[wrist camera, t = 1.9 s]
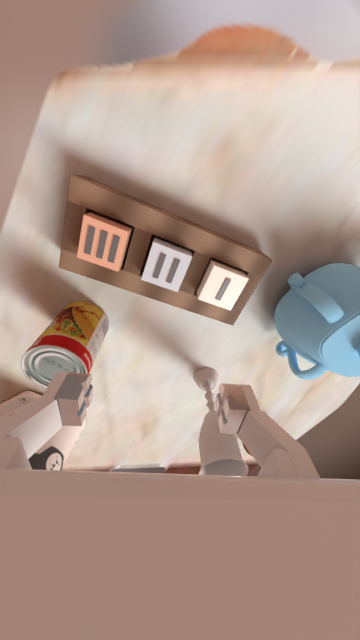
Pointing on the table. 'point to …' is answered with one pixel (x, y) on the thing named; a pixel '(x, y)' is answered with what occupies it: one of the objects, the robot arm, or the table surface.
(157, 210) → the button board
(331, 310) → the decorative pot
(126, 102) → the table surface
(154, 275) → the tile two
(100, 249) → the tile three
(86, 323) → the canned food
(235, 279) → the tile one
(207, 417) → the chalice
